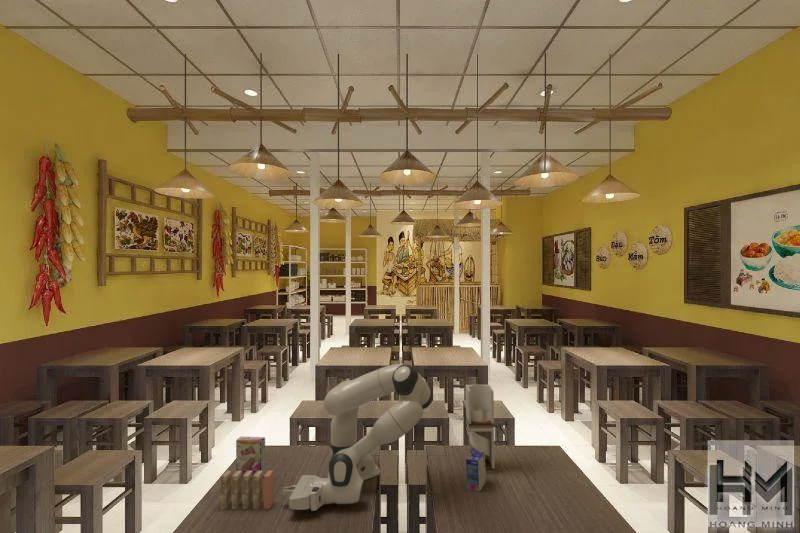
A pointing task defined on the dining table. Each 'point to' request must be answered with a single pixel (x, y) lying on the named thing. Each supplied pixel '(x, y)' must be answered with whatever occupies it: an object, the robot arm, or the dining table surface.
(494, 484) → the dining table surface
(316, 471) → the dining table surface
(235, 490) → the cream domino
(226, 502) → the cream domino
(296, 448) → the dining table surface
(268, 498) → the terracotta domino
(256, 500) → the cream domino
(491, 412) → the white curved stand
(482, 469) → the ink cartridge box
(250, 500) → the cream domino
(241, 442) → the candy bar box
